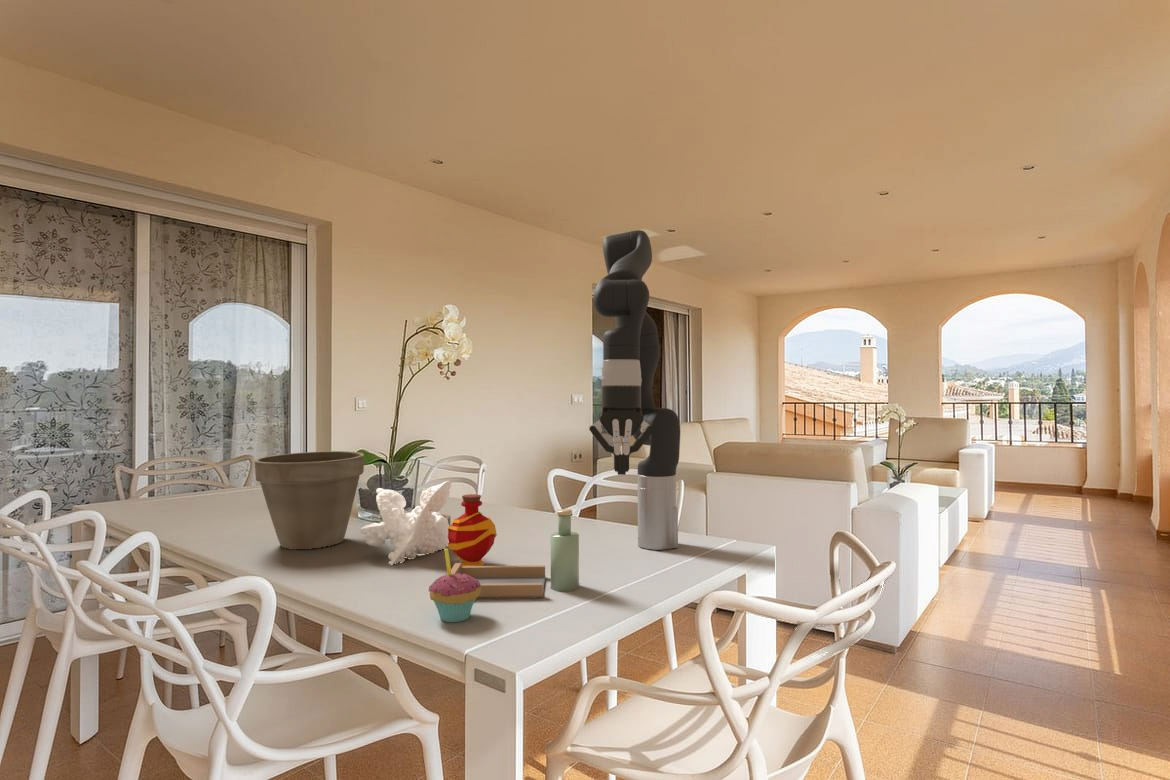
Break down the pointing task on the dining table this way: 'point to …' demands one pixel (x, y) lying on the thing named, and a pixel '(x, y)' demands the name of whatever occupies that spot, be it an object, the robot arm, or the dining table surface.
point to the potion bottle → (471, 533)
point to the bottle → (564, 554)
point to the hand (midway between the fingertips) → (621, 474)
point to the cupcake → (454, 594)
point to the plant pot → (310, 495)
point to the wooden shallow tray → (506, 580)
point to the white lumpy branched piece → (410, 523)
